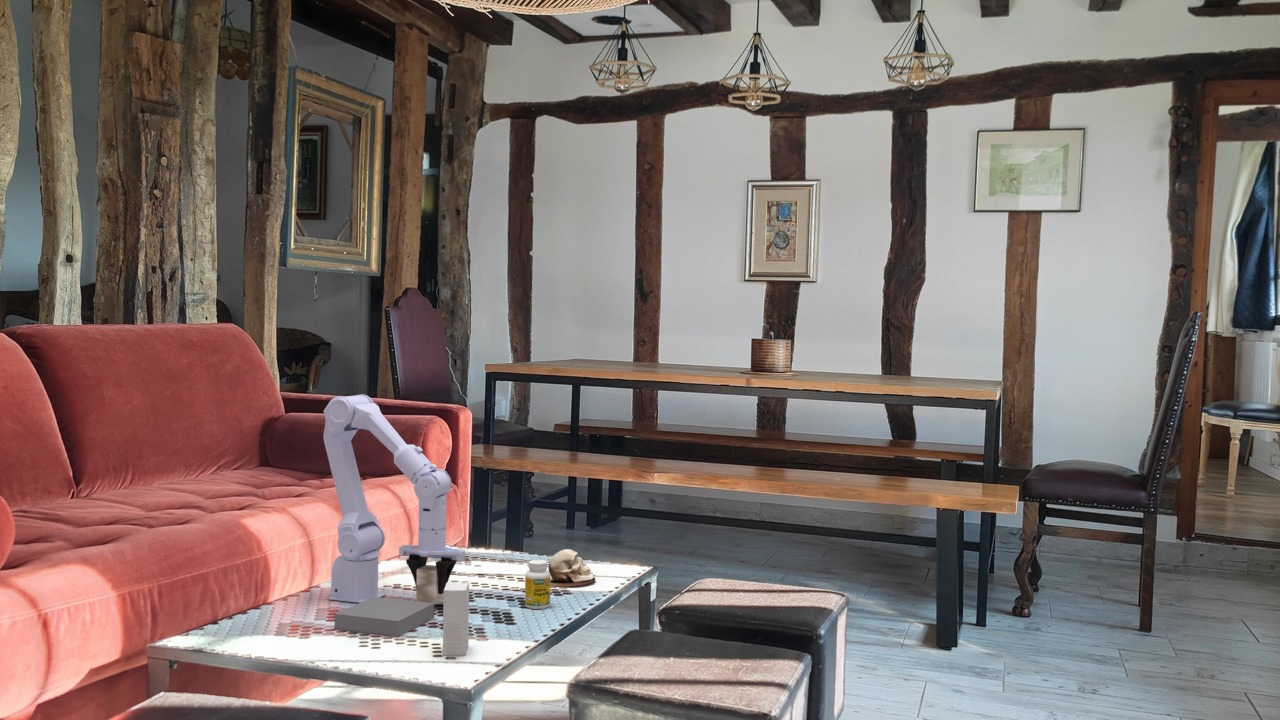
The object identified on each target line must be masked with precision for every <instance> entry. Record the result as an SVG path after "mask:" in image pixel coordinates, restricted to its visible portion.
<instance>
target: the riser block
mask: <svg viewBox="0 0 1280 720" xmlns="http://www.w3.org/2000/svg"><path fill="white" fill-rule="evenodd" d="M434 618H435V604H434V603H428V602H418V601H416V600H407V599H399V598H398V599H397V598H389V597H372V598H370V599H367V600H365V601H363V602H360V603H356V604H354V605H352V606H349V607H347V608H345V609H343V610H341V611H338V612H336V613H334V630H337V631H338V630H339V631H346V632H347V631H348V632H356V633H364V634H373V635H382V636H390V637H396V638H397V637H400V636H403V635H404V634H406V633H409V632H410V631H412V630H414V629H416V628H417V627H419V626H421V625H423V624H425V623H427V622H429V621H430V620H433V619H434Z"/></svg>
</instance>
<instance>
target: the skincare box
mask: <svg viewBox="0 0 1280 720" xmlns="http://www.w3.org/2000/svg"><path fill="white" fill-rule="evenodd" d="M442 602H443V609H442V610H443V611H442V613H443V615H442V622H443V623H442V624H443V625H442V656H447V657H448V656H450V657H451V656H458V657H459V656H462V657H463V656H466V655H467V653H468V652H467V651H468V648H469V637H470V636H469V634H470V633H469V629H470V628H469V623H470V622H469V621H470V619H469V618H470V617H469V616H470V615H469V613H470V610H469V608H470V582H469V581H467V582H466V581H463V582H461V581H448V582H447V583H446V586H445V589H444V598H443V601H442Z"/></svg>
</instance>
